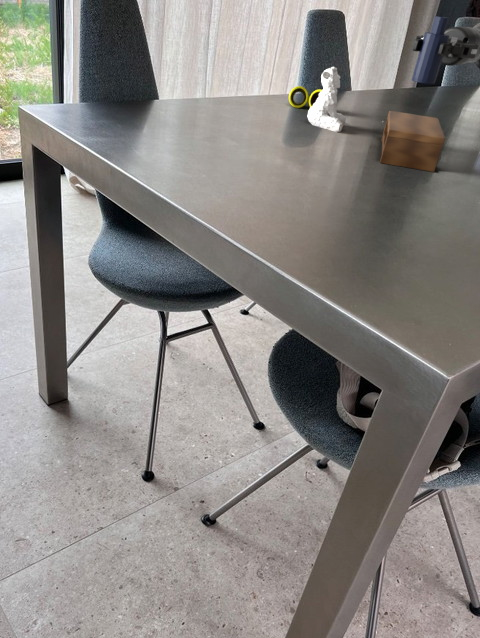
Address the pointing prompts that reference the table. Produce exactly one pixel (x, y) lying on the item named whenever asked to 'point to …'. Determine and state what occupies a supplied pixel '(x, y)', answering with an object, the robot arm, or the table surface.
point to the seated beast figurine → (327, 103)
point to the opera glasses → (310, 99)
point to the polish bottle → (431, 52)
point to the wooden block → (412, 141)
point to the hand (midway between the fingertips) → (427, 47)
